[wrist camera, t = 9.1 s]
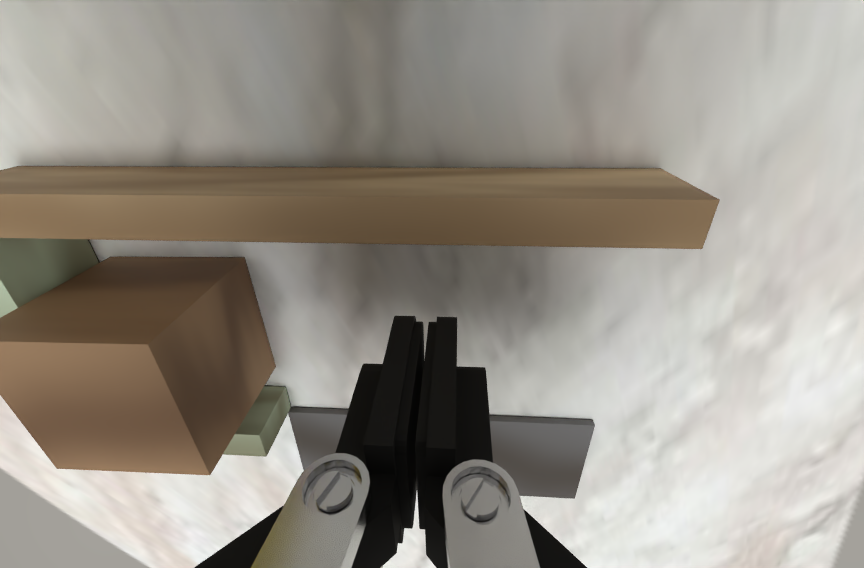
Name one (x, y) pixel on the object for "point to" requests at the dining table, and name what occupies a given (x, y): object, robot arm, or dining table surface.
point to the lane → (348, 223)
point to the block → (138, 364)
